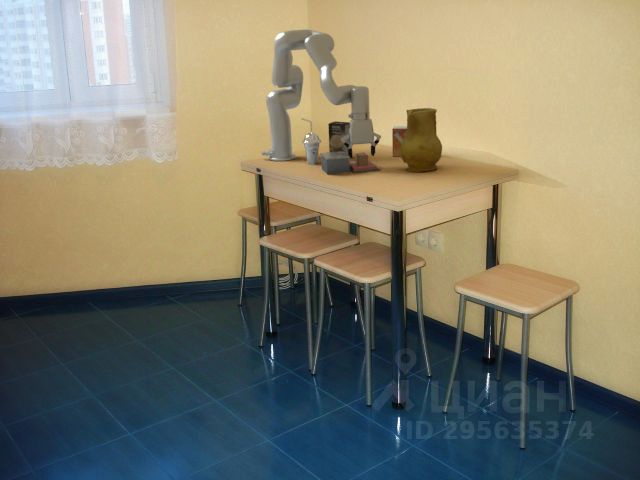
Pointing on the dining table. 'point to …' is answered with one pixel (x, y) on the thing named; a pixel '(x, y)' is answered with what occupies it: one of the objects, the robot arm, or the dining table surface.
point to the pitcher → (421, 140)
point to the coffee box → (338, 136)
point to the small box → (398, 139)
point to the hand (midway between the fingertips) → (361, 156)
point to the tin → (335, 162)
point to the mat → (365, 170)
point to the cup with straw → (311, 146)
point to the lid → (362, 163)
